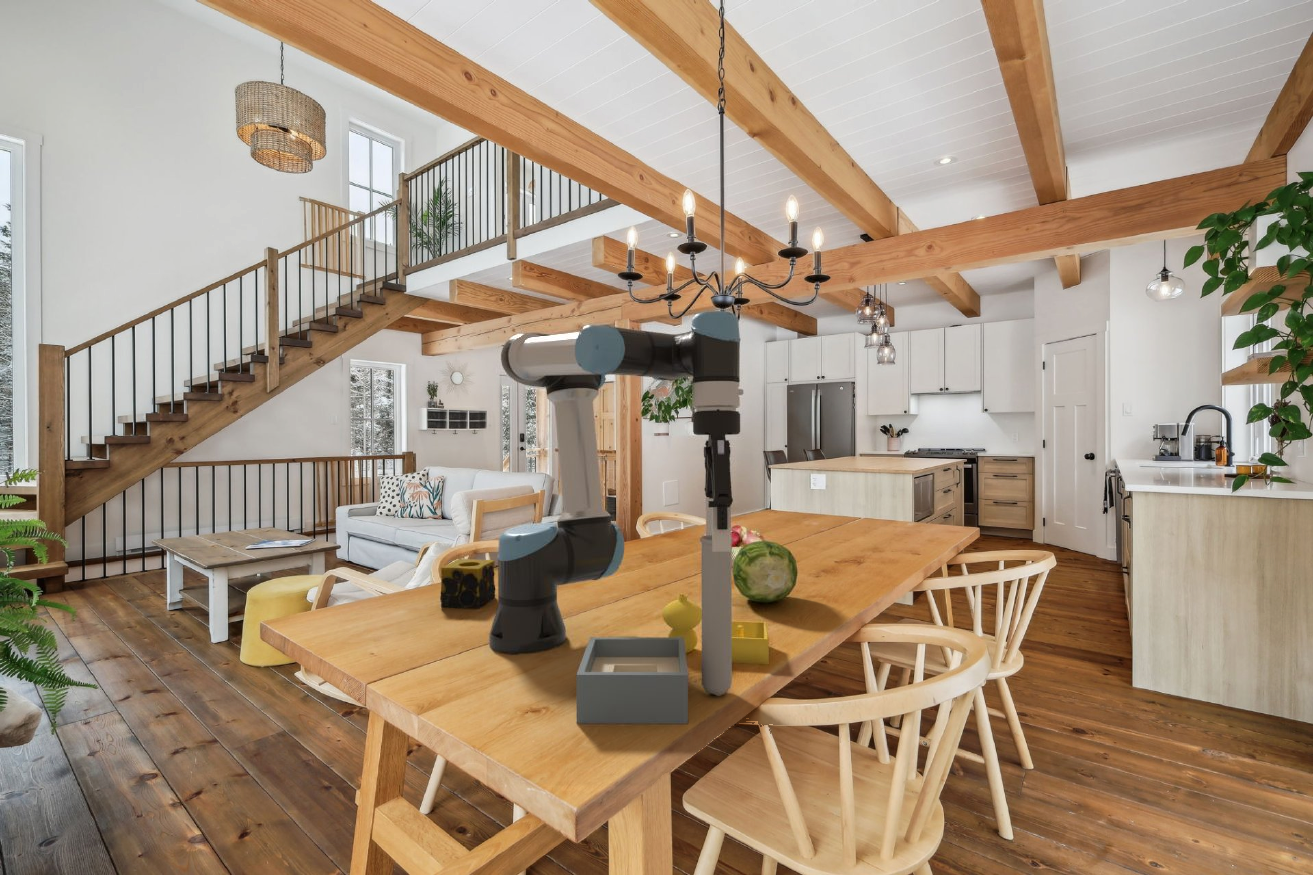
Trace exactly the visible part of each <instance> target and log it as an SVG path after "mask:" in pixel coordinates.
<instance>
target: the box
mask: <svg viewBox="0 0 1313 875" xmlns="http://www.w3.org/2000/svg"><path fill="white" fill-rule="evenodd" d="M575 677H576V681H575V682H576V684H575V685H576V688H575V689H576V694H575V695H576V698H575V699H576V702H575V703H576V724H587V725H588V724H595V725H596V724H617V725H620V724H623V725H625V724H627V725H629V724H631V725H632V724H633V725H634V724H635V725H638V724H639V725H642V724H643V725H647V724H648V725H649V724H650V725H659V724H660V725H663V724H666V725H668V724H669V725H676V724H677V725H688V724H689V695H688V694H689V673H688V664H687V653H686V651H685V641H684V637H668V636H666V637H660V636H659V637H655V636H654V637H651V636H650V637H648V636H647V637H645V636H644V637H642V636H641V637H638V636H636V637H635V636H634V637H632V636H630V637H628V636H626V637H624V636H622V637H621V636H620V637H616V636H614V637H611V636H610V637H609V636H608V637H607V636H606V637H605V636H603V637H602V636H601V637H599V636H598V637H597V636H595V637H594V636H593V637H591V636H590V637H589V640H588V642H587V646H586V648H585V650H584V653H583V656H582V659H581V661H580V664H579V667H578V670H577V673H576V676H575Z"/></svg>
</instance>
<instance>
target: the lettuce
mask: <svg viewBox="0 0 1313 875" xmlns="http://www.w3.org/2000/svg"><path fill="white" fill-rule="evenodd" d="M798 573H799V571H798V567H797V561H796V558H795V557H794V555H793V554H792V552H791V551H790V550H789V549H788V548H786V547H784V546H783V545H781V544H780V543H778V542H773V541H768V540H767V541H766V540H760V541H754V542H750V543H747V545H745V546H743V547H742V548H740V549H739V551H738V552H737V554H736V556H735V557H734V558H733V565H732V577H733V583H734V585H735V587H736V589H737V591H738V592H739V593H740V595H741V596H743V597H745V598H747V599H749V600H750V601H754V602H758V603H771V602H772V603H773V602H779V601H781V600H782V599H785V598H786V597H787V596H789V595H790V594H791V592H792V591H793V589H794V588H795V587H796V585H797V580H798Z"/></svg>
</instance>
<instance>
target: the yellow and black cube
mask: <svg viewBox="0 0 1313 875" xmlns="http://www.w3.org/2000/svg"><path fill="white" fill-rule="evenodd" d="M495 562H496V561H495V560H493V559H471V558H469V559H468V558H458V559H456V560H454V561H451V562H450V563H448V564H445V565H443V566H442V567H440V572H441V574H440V576H441V582H440V584H441V585H440V596H439V598H440V599H439V600H440V607H441V608H445V609H467V610H469V609H470V610H478V609H481V608H482V607H484V606H486V605H487V604H488V603H490V602H491V601H492V600H494V599H496V585H495Z"/></svg>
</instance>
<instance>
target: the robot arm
mask: <svg viewBox="0 0 1313 875" xmlns="http://www.w3.org/2000/svg"><path fill="white" fill-rule="evenodd" d="M690 328H691V330H689V331H687V332H683V333H677V334H674V333H673V334H671V333H665V332H656V331H647V330H638V329H631V328H623V327H616V326H611V325H608V324H587V325H586V326H585V325H584V327H583V328H582V330H581V331H574V332H566V333H560V334H559V333H558V334H547V333H541V332H523V333H518V334H516V335H513V336H511V337H510V338H509V339H508V340H507V341H506V342H505V343H504V345H503V346H502V349H501V353H500V361H501V365H502V368H503V370H504V372H505V374H506V375H508V376H509V377H510V378H511V379H512V380H514V381H515V382H516V383H519V384H521V385H524V386H529V387H535V388H536V387H537V388H545V391H546V398H547V400H548V401H549V402H551V403H552V404H553V406H554V416H555V426H556V439H557V451H558V462H559V471H560V472H559V473H560V474H559V475H560V484H561V485H560V486H561V497H562V510H563V511H562V514H561V515H560V516H559V517H558V518H557V519H556V520H557V521H556V522H557V524H555V523H552V522H536V523H527V524H522V525H521V524H520V525H518V526H515V527H511V528H508V529H507V530H505V531H503V532H502V534H501V535H500V536H499V538H498V549H497V554H496V558H497V578H498V579H497V582H498V583H497V584H498V585H497V588H498V589H497V590H498V591H497V593H498V594H497V595H498V596H497V599H498V600H497V601H498V603H497V608H496V611H495V614H494V615H495V616H494V619H493V621H492V625H491V627H490V631H489V633H488V637H489V638H488V640H489V648H490V649H491V650H493V651H494V652H498V653H502V654H508V655H527V654H529V655H530V654H536V653H537V654H538V653H542V652H547V651H550V650H553V649H556V648H559V647H561V646H562V645H563V644H564V643H565V642H566V640H567V639H566V638H567V637H566V636H567V635H566V633H567V630H566V625H565V622H564V620H563V617H562V614H561V610H560V607H559V604H558V586H563V585H570V584H576V583H580V582H581V583H582V582H588V581H598V580H600V579H602V578H607V577H610V576H612V575H614V574H615V573H617V571H618V569H619V567H620V566H621V564H622V562H623V559H624V555H625V539H624V535H623V532H621V527H619V525H618V524H615V523H613V522H612V517H611V514H610V513H609V512H608V511H607V510H605V509H604V506H603V496H602V495H603V494H602V486H601V485H602V484H601V475H600V474H601V473H600V466H599V465H600V464H599V463H600V462H599V453H598V452H599V451H598V443H597V431H596V430H597V429H596V422H595V409H594V401H595V399H596V398H597V397H598V396H599V395H600V393H599V392H600V389H601V388H602V387H603V386H604V384H605V382H606V380H607V377H606V376H607V375H616V376H617V375H618V376H619V375H620V376H636V377H644V378H645V377H646V378H652V379H653V380H656V381H669V382H672V381H675V380H679V379H685V378H691V377H692V384H691V386H692V388H691V389H692V390H691V392H692V408H694V409H696V410H695V411H694V413H693V414H692V432H693V434H694V435H696V436H708V439H707V440H706V441H705V444H704V445H705V446H703V457H704V468H705V478H704V481H705V482H704V483H705V484H704V494H705V497H706V498H705V536H707V535H712V551H713V552H731V537H732V518H731V517H732V510H731V509H732V508H731V506H732V504H733V501H734V498H733V496H732V495H733V494H732V480H731V479H732V478H731V460H730V459H731V458H730V457H731V447H730V446H731V443H730V440H728V439H726V436H729V435H730V436H731V435H732V436H733V435H736V436H737V435H739V434H741V413H740V411H737V409H738V408H740V405H741V403H740V402H741V401H740V399H741V398H740V396H743V395H744V390H743V389H742V388H740V381H741V380H740V379H741V378H740V375H741V374H740V371H741V370H740V362H741V361H740V352H741V350H740V346H741V335H740V326H739V318H738V316H737V315H736V314H735V313H733V312H731V311H723V310H711V311H710V310H708V311H701V312H698V313H696V314H695V315H694V316H693V317H692V321H691V327H690Z"/></svg>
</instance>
